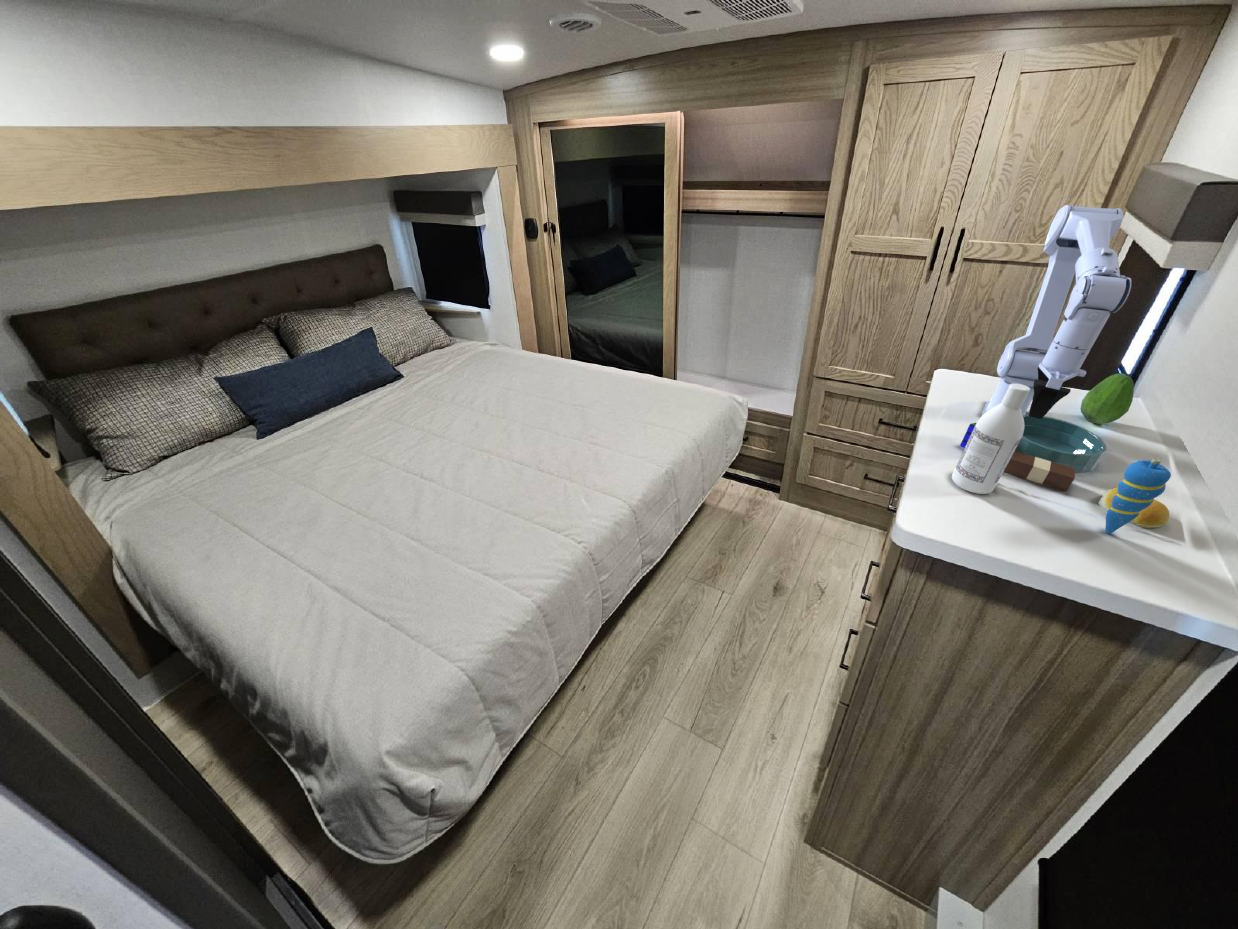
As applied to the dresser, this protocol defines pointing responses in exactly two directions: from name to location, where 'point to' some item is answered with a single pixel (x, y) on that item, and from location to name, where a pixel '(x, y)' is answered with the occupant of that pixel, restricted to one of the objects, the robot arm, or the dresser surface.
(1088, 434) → the bowl
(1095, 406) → the avocado
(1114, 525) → the ornament
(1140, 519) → the bread roll
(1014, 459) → the snack bar
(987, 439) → the bath foam
